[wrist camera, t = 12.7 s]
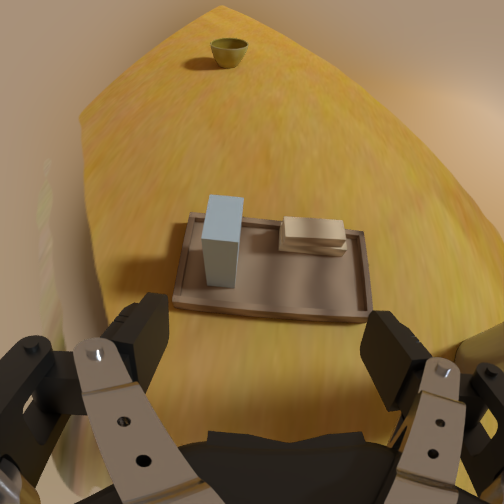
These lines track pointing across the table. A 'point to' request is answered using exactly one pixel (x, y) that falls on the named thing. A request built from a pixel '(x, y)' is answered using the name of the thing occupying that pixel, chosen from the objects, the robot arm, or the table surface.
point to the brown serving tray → (277, 278)
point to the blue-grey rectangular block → (222, 240)
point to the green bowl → (228, 51)
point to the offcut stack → (312, 236)
